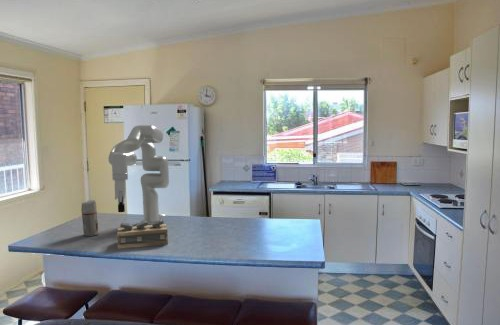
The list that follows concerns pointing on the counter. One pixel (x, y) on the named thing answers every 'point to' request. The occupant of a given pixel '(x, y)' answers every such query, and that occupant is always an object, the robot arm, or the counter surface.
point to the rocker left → (126, 225)
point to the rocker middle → (142, 224)
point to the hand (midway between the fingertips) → (121, 211)
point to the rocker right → (158, 222)
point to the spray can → (89, 218)
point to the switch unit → (142, 236)
